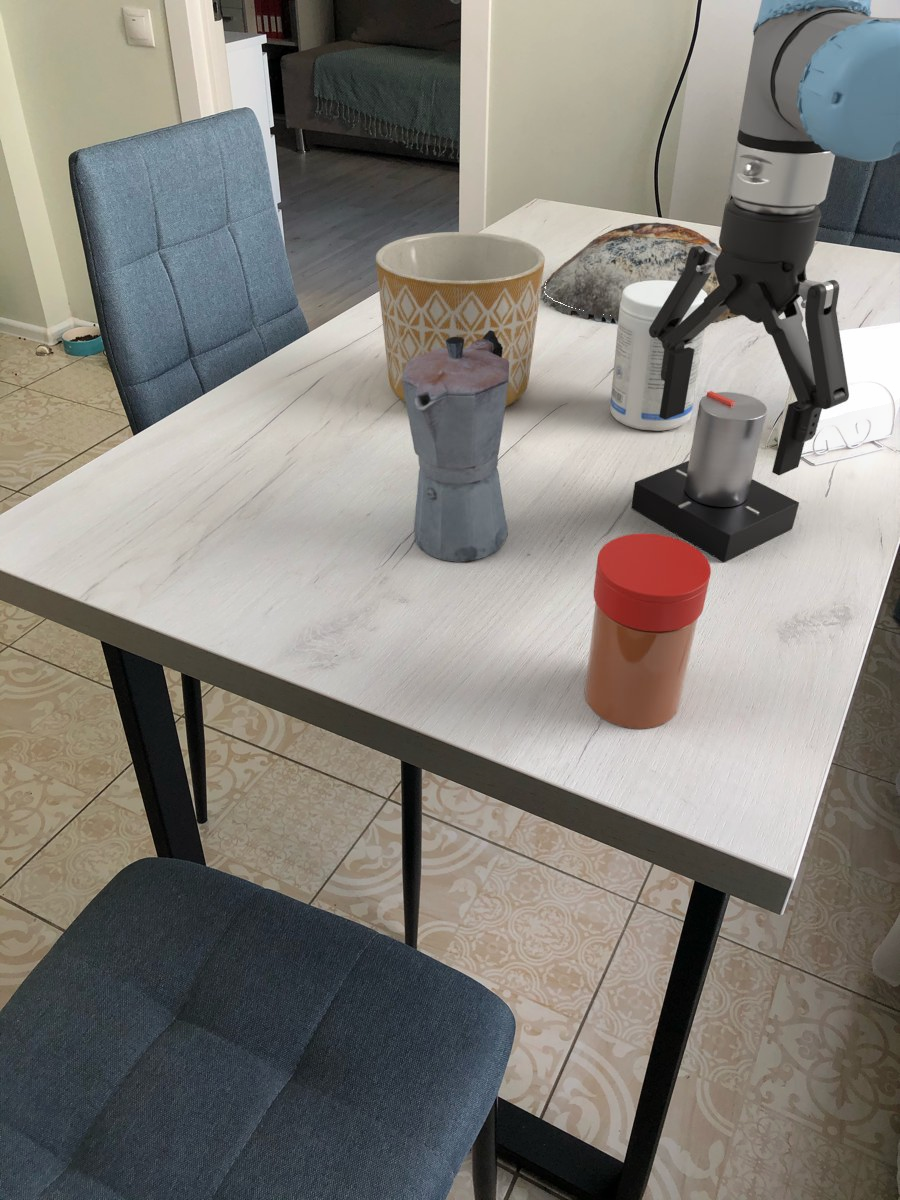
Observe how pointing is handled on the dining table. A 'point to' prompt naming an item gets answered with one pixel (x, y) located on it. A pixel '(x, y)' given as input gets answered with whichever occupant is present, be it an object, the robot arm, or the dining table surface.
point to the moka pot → (458, 447)
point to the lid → (651, 582)
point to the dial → (724, 448)
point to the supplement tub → (646, 359)
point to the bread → (623, 268)
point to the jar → (636, 672)
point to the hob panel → (714, 514)
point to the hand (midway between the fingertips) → (725, 441)
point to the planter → (459, 298)
